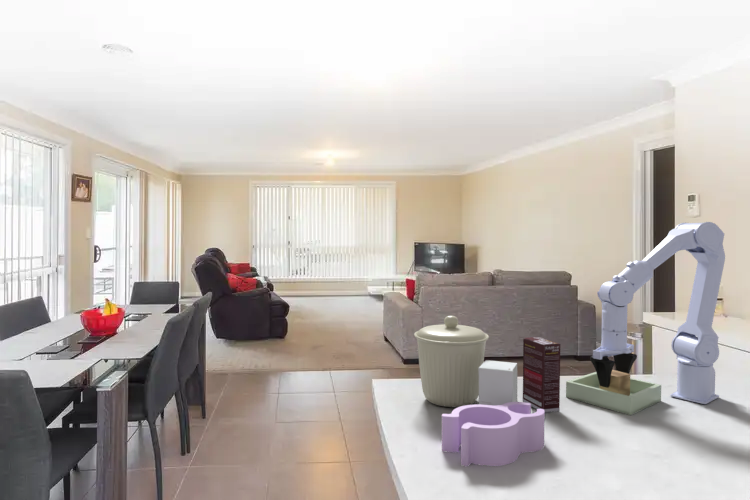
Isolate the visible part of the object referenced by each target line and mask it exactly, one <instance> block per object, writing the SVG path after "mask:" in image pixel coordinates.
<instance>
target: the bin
mask: <svg viewBox="0 0 750 500" xmlns="http://www.w3.org/2000/svg"><path fill="white" fill-rule="evenodd" d="M599 388H600V384H599V380H598V376H597V373H596V371H595V372H591V373H588V374H585V375H581V376H579V377H576V378H572V379H569V380H567V381H565V398H568V399H571V400H574V401H577V402H582V403H586V404H589V405H592V406H596V407H599V408H604V409H607V410H610V411H614V412H617V413H622V414H624V415H628V416H631V415H634V414H636V413H639V412H641V411H643V410H645V409H647V408H649V407H651V406H654V405H656V404H657V403H660V402H661V401H662V384H658V383H655V382H651V381H650V382H649V381H646V380H642V379H636V378H632V377H630V395H629V396H627V395H623V394H619V393H615V392H611V391H607V390H603V389H599Z"/></svg>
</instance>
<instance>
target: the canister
mask: <svg viewBox="0 0 750 500" xmlns="http://www.w3.org/2000/svg"><path fill="white" fill-rule="evenodd" d="M443 323H444V324H432V325H427V326H424V327H422V328H420V329H419V330H417V331H415V332H414V333H413V335H414V338H415V339H416V343H417V353H418V364H419V365H418V366H419V372H420V373H419V374H420V382H421V389H422V393H423V395H424V398H425V399H426V400H427V401H428V402H429V403H431V404H433V405H436V406H440V407H445V408H458V407H461V406H465V405H474V403H475V402H476V401H477V400H478V399H479V371H478V368H479V367H480V366H481V365H482V364H483V363H484V360H485V355H486V354H485V353H486V343H487V341H488V340H489V339H490V336H489V334H488V333H487V332H484V331H483V330H482V329H481V328H478V327H474V326H471V325H470V326H468V325H464V324H463V325H462V324H459V318H458V317H457V316H455V315H447V316H445V317H444V319H443Z"/></svg>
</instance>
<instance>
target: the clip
mask: <svg viewBox="0 0 750 500" xmlns="http://www.w3.org/2000/svg"><path fill="white" fill-rule="evenodd" d="M545 414H546V413H545V411H544V409H536V412H532V406H531V404H530V403H525V402H523V401H517V402H508V403H504V404H502V405H479V404H470V405H465V406H461V407H455V408H454V409H453V410H452V411H451V413H442V414H441V451H442V452H444V451H447V452H446V453H459V452H460V466H462V465H464V466H463V467H469V466H470V465H471V464H470V463H474V464H473V465H477V464H480V465H479V466H483V465H487V466H486V467H500V466H507V465H508V464H509V465H510V464H512V463H514V462H516V461H517V460H518V458H519V456H520V455H521V454H524V453H533V452H535V453H536V452H540V451H542V450H543V449H544V448H545V419H546V418H545V416H546V415H545ZM469 464H470V465H469ZM468 465H469V466H468ZM488 465H490V466H488Z"/></svg>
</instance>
